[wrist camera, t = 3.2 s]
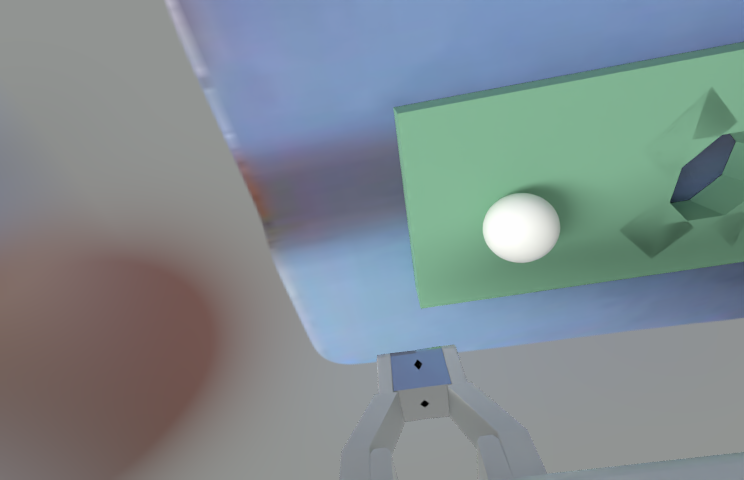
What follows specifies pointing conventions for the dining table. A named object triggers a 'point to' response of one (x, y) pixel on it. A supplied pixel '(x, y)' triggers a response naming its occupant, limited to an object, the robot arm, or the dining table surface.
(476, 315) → the dining table surface
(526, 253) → the ball
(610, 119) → the putting mat
